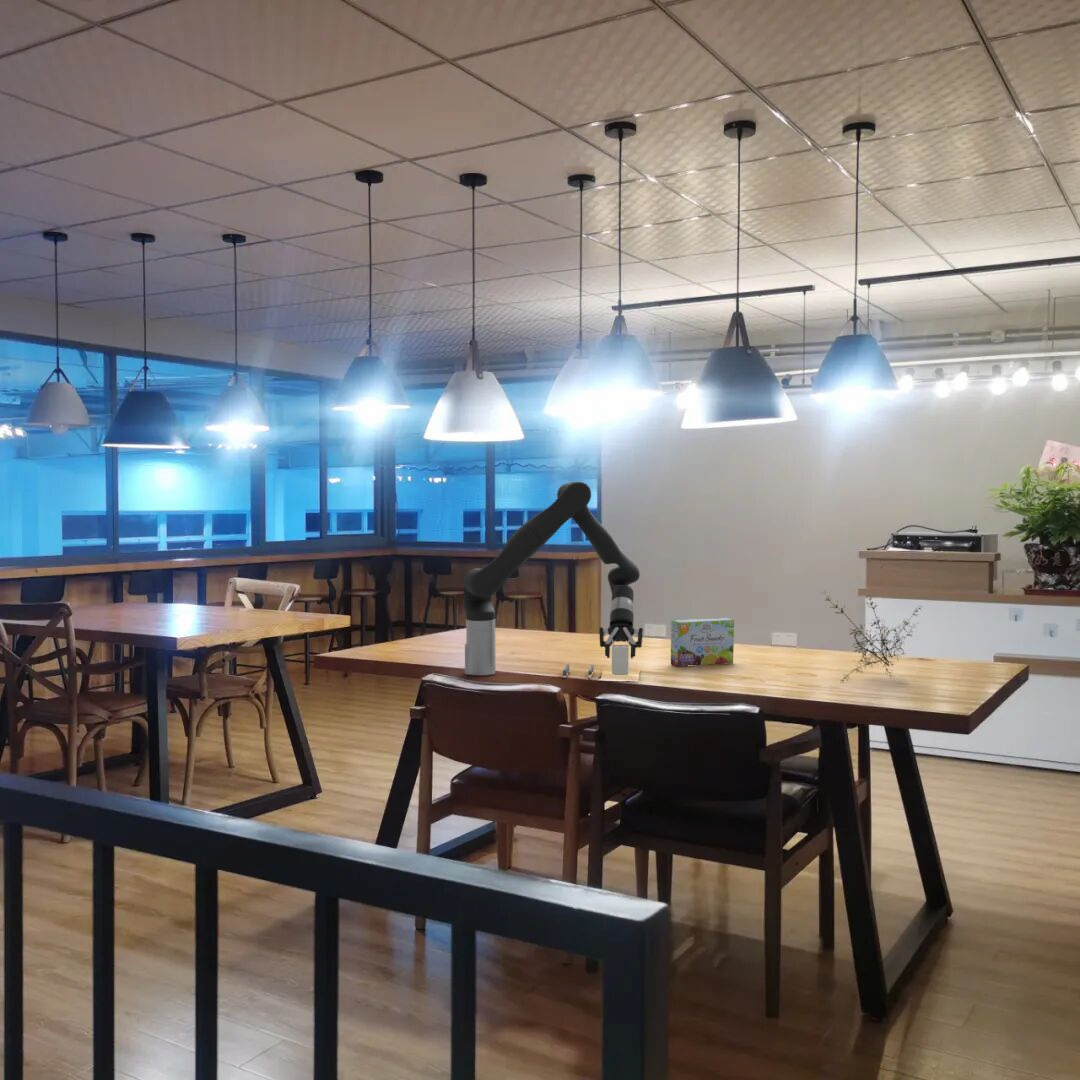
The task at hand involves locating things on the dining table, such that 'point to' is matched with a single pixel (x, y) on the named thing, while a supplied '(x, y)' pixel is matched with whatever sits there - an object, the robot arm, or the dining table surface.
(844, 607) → the dried plant
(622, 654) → the block
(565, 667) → the brackets
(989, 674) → the dining table surface
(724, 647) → the snack box
